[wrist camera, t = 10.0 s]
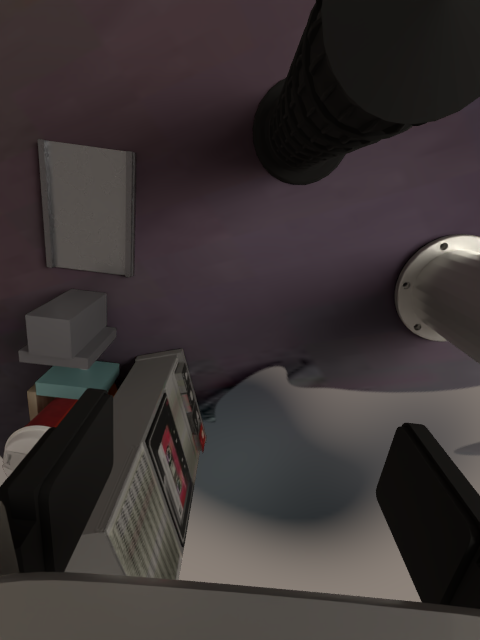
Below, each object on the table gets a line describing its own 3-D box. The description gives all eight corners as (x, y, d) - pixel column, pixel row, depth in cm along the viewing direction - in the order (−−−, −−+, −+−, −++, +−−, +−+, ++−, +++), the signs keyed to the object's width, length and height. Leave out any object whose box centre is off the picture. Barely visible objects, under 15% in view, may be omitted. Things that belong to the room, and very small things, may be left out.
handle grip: (236, 104, 34) (276, 201, 37) (217, -125, 9) (341, 220, 13) (331, 52, 33) (364, 158, 36) (613, -390, 8) (640, 81, 11)
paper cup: (62, 403, 46) (-9, 486, 33) (73, 355, 44) (0, 424, 31) (119, 420, 47) (71, 507, 34) (133, 374, 45) (87, 449, 32)
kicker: (119, 294, 40) (86, 322, 31) (119, 374, 43) (89, 418, 35) (58, 287, 40) (8, 313, 31) (63, 368, 43) (19, 411, 35)
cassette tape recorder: (208, 435, 48) (176, 666, 25) (166, 441, 49) (94, 674, 25) (184, 347, 43) (116, 528, 20) (138, 354, 44) (18, 541, 20)
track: (136, 153, 36) (133, 151, 35) (134, 275, 40) (131, 277, 39) (42, 140, 35) (36, 138, 34) (50, 265, 40) (45, 266, 39)
